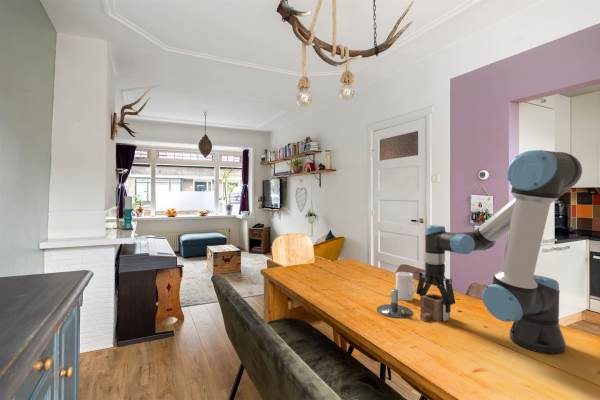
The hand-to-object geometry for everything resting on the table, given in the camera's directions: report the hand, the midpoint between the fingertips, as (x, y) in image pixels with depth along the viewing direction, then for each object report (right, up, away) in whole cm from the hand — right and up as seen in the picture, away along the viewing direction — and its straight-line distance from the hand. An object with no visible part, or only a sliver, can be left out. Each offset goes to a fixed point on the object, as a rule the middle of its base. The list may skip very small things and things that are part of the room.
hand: (434, 315), depth 129 cm
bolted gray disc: (-15, 0, +6) cm, 16 cm away
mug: (-4, 0, +22) cm, 22 cm away
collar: (-2, 0, -1) cm, 2 cm away
